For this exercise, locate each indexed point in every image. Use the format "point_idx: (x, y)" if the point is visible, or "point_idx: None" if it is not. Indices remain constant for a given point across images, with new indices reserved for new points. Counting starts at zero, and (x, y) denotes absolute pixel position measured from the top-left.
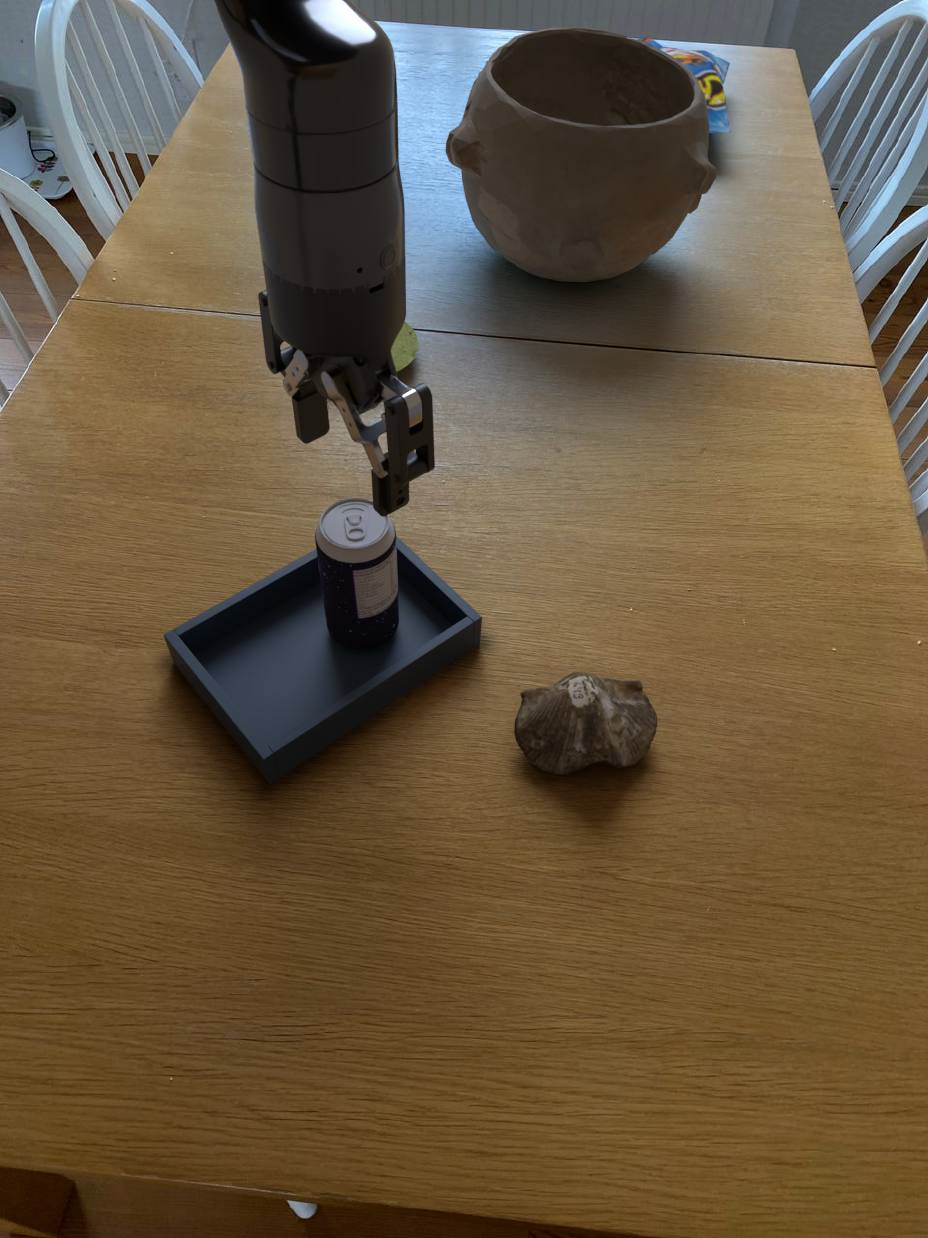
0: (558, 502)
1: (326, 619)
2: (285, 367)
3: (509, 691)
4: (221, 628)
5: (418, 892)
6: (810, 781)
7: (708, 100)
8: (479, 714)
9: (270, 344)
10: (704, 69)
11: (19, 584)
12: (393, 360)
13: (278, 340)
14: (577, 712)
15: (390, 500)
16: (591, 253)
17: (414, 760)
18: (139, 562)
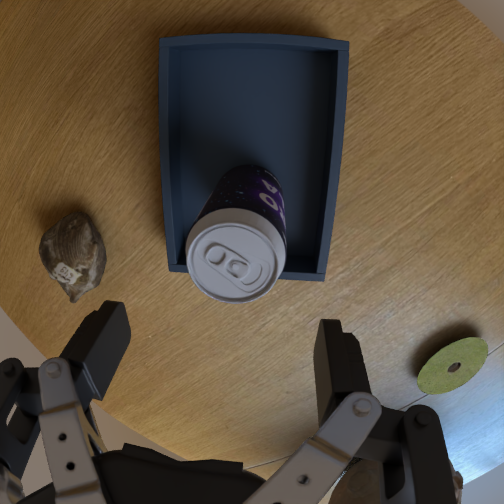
0: (252, 368)
1: (261, 170)
2: (388, 437)
3: (134, 239)
4: (331, 93)
5: (54, 96)
6: (31, 307)
7: None
8: (129, 210)
9: (425, 473)
10: None
11: (485, 31)
12: (427, 374)
13: (407, 492)
14: (57, 260)
15: (79, 329)
16: (353, 484)
17: (123, 147)
18: (450, 103)
